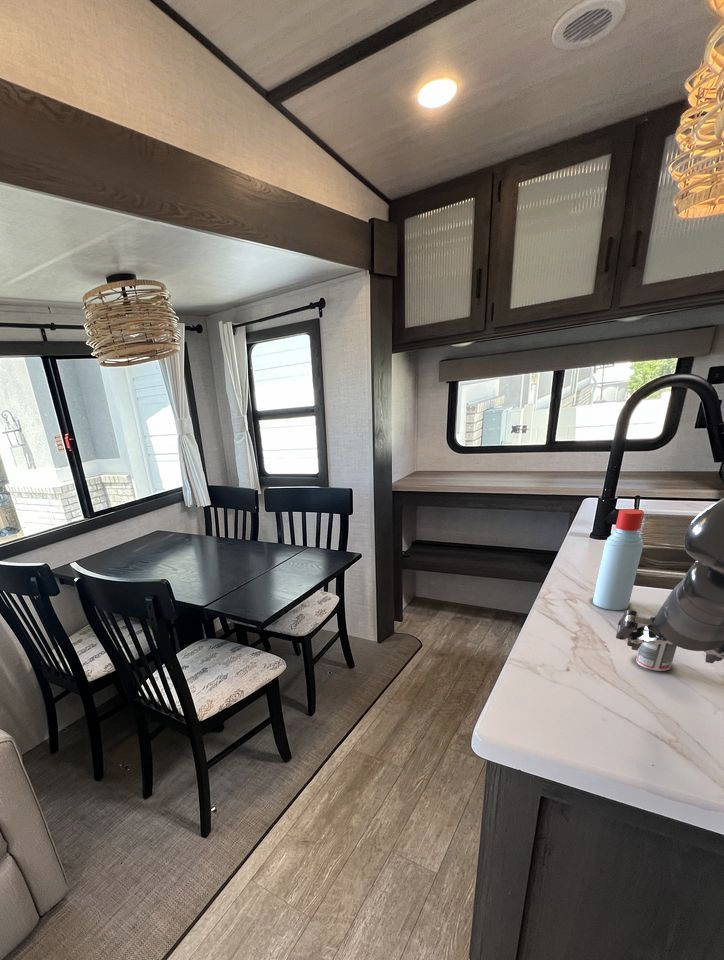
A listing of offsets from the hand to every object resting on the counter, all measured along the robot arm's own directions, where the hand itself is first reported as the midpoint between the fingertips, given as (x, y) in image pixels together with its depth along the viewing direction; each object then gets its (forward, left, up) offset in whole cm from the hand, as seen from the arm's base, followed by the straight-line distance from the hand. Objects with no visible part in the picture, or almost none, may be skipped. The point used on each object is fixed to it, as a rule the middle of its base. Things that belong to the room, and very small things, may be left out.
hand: (670, 650), depth 69 cm
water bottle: (+6, -36, -9) cm, 37 cm away
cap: (+6, -36, +8) cm, 37 cm away
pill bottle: (0, -11, -9) cm, 14 cm away
